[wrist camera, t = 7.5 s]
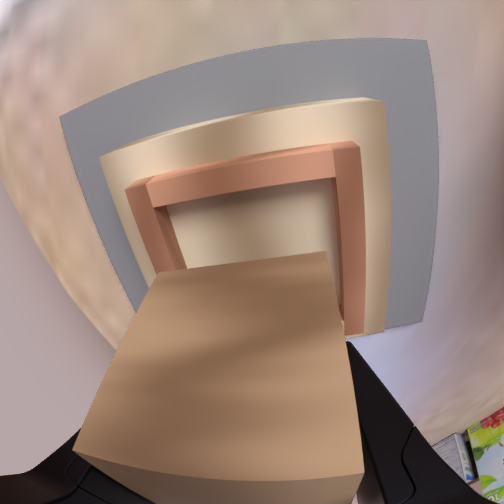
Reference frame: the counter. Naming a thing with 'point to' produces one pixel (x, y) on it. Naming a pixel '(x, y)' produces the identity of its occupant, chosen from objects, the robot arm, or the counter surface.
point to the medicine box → (456, 456)
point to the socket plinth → (266, 196)
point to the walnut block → (232, 390)
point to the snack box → (489, 454)
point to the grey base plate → (275, 95)
